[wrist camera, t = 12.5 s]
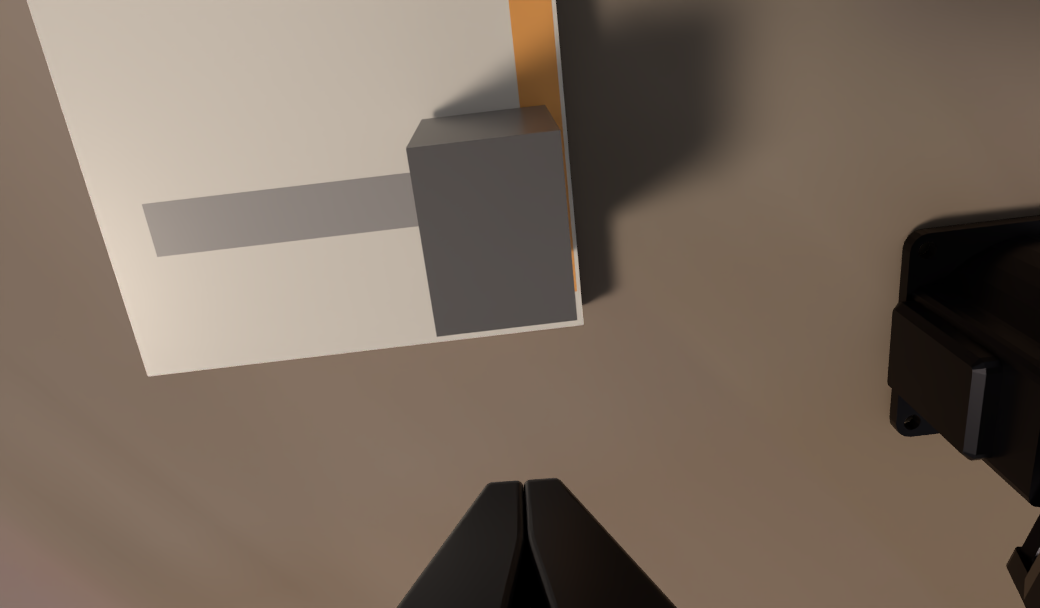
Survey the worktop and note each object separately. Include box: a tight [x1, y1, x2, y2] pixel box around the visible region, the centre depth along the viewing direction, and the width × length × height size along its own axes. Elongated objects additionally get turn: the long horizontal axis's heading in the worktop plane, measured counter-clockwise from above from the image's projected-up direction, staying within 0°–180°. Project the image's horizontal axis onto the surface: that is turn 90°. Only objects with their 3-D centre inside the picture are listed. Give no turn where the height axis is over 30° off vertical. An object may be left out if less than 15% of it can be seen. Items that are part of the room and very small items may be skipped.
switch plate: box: [27, 0, 584, 376], centre depth 19 cm, size 12×16×1 cm
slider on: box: [406, 105, 577, 337], centre depth 17 cm, size 3×4×4 cm
